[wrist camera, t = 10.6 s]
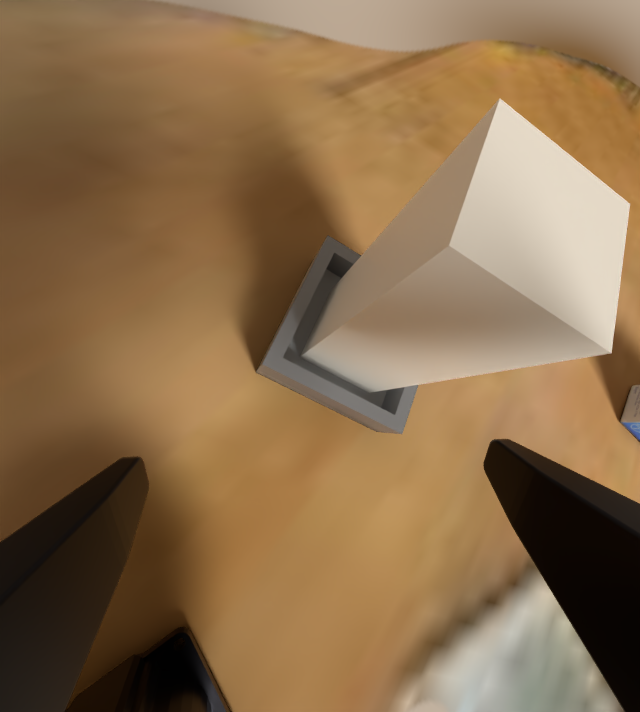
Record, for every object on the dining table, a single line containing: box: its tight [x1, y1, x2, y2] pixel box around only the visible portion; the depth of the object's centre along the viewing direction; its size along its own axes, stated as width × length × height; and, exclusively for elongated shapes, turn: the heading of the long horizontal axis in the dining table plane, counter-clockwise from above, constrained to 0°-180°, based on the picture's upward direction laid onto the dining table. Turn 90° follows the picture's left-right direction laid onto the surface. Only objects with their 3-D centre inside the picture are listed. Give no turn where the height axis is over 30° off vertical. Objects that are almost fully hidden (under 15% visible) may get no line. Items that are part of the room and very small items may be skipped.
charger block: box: [300, 99, 630, 393], centre depth 14 cm, size 5×5×13 cm
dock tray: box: [256, 236, 418, 434], centre depth 19 cm, size 9×9×3 cm
